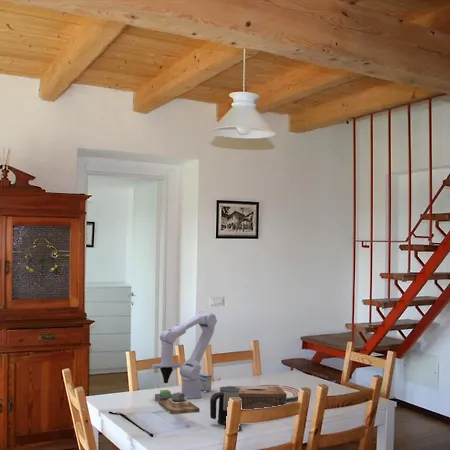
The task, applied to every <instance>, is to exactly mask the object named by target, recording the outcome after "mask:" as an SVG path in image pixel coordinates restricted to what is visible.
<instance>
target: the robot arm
mask: <svg viewBox="0 0 450 450" xmlns="http://www.w3.org/2000/svg"><path fill="white" fill-rule="evenodd" d="M217 322H218V320H217V317H216V315H215V314H214V313H212V312H204V311H199V312H198V313H196V314H195V315H194V316H192V317H191V318H189V319H188V320H187V321H186V320H185V322H183V323H181V322H180V323H179V322H178V323H175V325H174V326H173V327H169V328H168V329H167V330H163V331H162V332H161V333H160V335H159V339H160V341H161V352H160V353H161V358H160V363H152V364H151V369H152V370H156V369H160V372H161V374H162V378H163V379H162V380H163V383H164V384H169V379H170V377H171V374H172V373H173V371H174V369H178V368H179V375H180V376H181V393H183V394H185V396H184V398H185V399H187V400H188V399H199V398H200V399H201V398H202V396H201V395H202V394H201V393H202V392H201V381H200V379H197V378H198V377H199V374H201V372H200V371H201V370H202V367H201V365H200V364H201V360H202V358H203V356H204V354H205V352H206V350H207V348H208V345H209V344H210V341H211V339H212V337H213V335H214V333H215V332H214V331H215V326H216V324H217ZM196 325H198V326H199V328H200V329H201V331H202V332H201V334H200V336H199V339H198V340H197V343H196V345H195V347H194V349H193V351H192V353H191V355H190V358H188V359H187V360H185V361H184V363H183V364H182V363H181V362H179V363H178V362H174V361H173V359H174V343H175V342H176V340H177V339H178V338H180V337H181V336H183V335H184V334H186V332H187V330H189V329H190V328H192V327H194V326H196Z"/></svg>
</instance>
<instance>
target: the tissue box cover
mask: <svg viewBox="0 0 450 450" xmlns="http://www.w3.org/2000/svg"><path fill="white" fill-rule="evenodd" d="M227 387H236V388H239V389H240V390H239V397H240V398H241V399H242V409H254V408H264V407H272V406H278V405H284V404H286V405H287V400H286V396H287V394H286V393H285V392H284V391H283V390H282V389H281V388H280V387H277V386H257V385H227Z"/></svg>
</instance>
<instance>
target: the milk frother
mask: <svg viewBox="0 0 450 450" xmlns="http://www.w3.org/2000/svg"><path fill="white" fill-rule="evenodd" d="M239 390H240V389H239V388H236V387H228V386H221V387H219V391H218V392H215V393H213V394H212V395H211V397H210V400H209V411H210V413H209V414H210V418H211V419H212V420H216V418H217V423H218V424H220V425H224V426H226V425H225V424H226V416H227V407H228V401H229V398H230V397H239ZM217 402H218V414H217ZM217 415H218V416H217ZM241 426H242V425H240V426H239V429H242V428H243V427H241Z"/></svg>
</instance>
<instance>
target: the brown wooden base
mask: <svg viewBox="0 0 450 450" xmlns="http://www.w3.org/2000/svg"><path fill="white" fill-rule="evenodd" d="M158 405H159V406H160V407H162V408H163V409H164V410H165V411H166V412H168V411H169V412H170V413H172V414H171V415H177V414H189V413H200V408H199V407H198V406H196V405H195V404H193V403H192V402H191V401H190V400H188V399H185V398H184V402H173V401H172V398H171V399H168V400H163V401H159V402H158ZM169 412H168V413H169ZM170 413H169V414H170Z"/></svg>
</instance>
